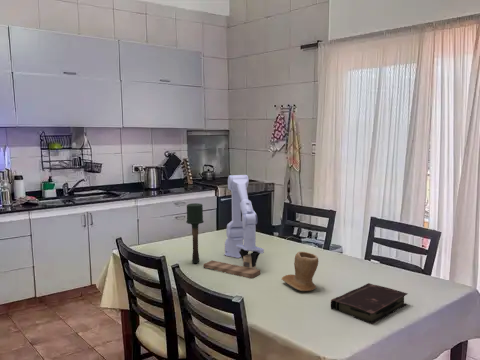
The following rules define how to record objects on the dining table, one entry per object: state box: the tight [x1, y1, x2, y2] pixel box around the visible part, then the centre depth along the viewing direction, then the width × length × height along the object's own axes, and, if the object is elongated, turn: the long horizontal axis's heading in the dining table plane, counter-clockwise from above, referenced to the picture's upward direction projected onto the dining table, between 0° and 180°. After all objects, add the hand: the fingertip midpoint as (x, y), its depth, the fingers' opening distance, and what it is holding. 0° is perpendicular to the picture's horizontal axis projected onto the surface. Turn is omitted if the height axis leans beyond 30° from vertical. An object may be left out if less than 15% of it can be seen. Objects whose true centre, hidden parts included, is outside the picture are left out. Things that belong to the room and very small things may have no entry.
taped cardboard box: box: [242, 253, 257, 269], centre depth 209 cm, size 4×5×6 cm
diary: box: [330, 282, 409, 325], centre depth 165 cm, size 19×25×5 cm
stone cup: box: [281, 251, 319, 292], centre depth 186 cm, size 15×12×15 cm
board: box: [202, 260, 261, 279], centre depth 207 cm, size 28×7×2 cm, turn 57°
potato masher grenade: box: [186, 202, 205, 264], centre depth 218 cm, size 8×9×30 cm
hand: (249, 265), depth 209 cm, fingers closed on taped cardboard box, 4 cm apart
